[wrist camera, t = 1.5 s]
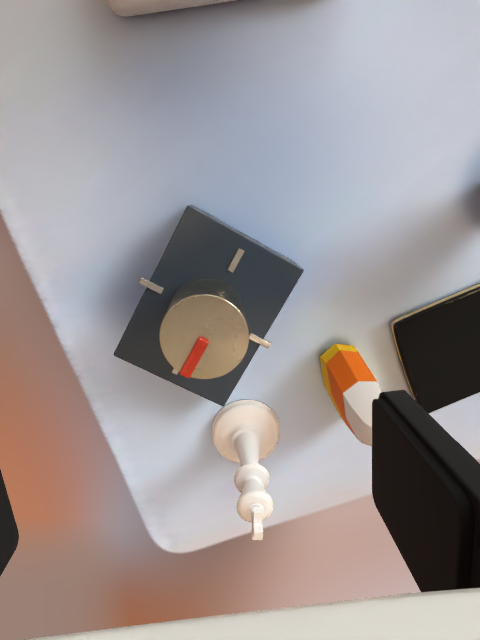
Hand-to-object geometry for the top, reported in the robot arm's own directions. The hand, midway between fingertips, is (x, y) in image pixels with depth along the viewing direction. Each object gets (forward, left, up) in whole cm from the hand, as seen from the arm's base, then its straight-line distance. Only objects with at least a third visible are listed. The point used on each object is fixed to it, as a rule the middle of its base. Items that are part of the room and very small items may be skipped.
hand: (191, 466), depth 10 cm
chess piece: (+10, +2, -18) cm, 21 cm away
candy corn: (+7, +9, -18) cm, 21 cm away
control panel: (0, 0, -18) cm, 18 cm away
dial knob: (0, 0, -15) cm, 15 cm away
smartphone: (+4, +20, -18) cm, 27 cm away
